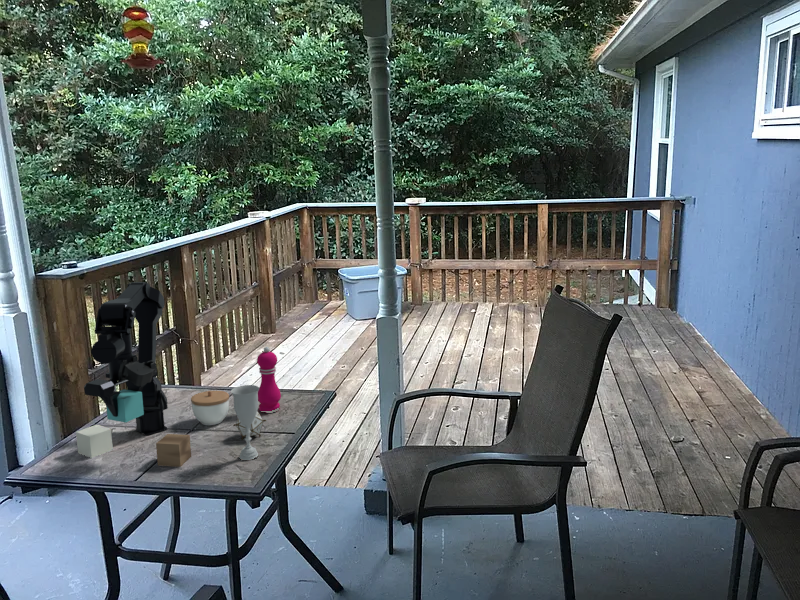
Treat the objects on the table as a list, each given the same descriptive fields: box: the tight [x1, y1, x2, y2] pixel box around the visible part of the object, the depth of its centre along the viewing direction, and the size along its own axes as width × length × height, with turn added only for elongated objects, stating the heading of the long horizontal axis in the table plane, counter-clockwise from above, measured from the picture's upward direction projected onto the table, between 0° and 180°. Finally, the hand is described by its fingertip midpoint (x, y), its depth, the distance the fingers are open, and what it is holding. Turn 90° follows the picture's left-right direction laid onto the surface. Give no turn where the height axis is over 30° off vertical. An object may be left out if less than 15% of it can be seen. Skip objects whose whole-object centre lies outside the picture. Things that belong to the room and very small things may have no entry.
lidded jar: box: [190, 389, 230, 426], centre depth 192 cm, size 11×11×9 cm
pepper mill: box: [256, 346, 282, 412], centre depth 200 cm, size 7×7×20 cm
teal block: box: [105, 389, 144, 423], centre depth 166 cm, size 6×6×6 cm
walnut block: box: [155, 433, 192, 468], centre depth 166 cm, size 6×6×6 cm
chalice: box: [230, 384, 260, 460], centre depth 167 cm, size 7×7×18 cm
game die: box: [232, 410, 267, 440], centre depth 181 cm, size 9×8×10 cm
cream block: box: [75, 424, 114, 459], centre depth 172 cm, size 6×6×6 cm
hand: (125, 412), depth 166 cm, fingers closed on teal block, 6 cm apart
